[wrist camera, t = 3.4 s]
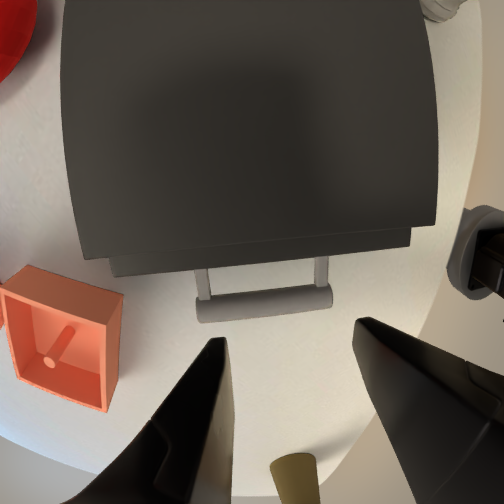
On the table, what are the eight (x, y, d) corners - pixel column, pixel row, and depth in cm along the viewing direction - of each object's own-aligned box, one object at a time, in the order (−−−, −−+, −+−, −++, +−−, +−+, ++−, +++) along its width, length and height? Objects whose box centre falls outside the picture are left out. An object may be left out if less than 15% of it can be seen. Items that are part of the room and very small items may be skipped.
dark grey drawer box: (348, 187, 20) (435, 225, 11) (144, 205, 19) (83, 260, 10) (330, -8, 15) (393, -76, 6) (131, 3, 14) (79, -69, 5)
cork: (275, 477, 33) (286, 543, 22) (264, 460, 30) (276, 535, 20) (318, 466, 33) (336, 531, 22) (312, 448, 30) (333, 522, 20)
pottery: (123, 294, 21) (75, 385, 12) (118, 380, 24) (91, 466, 15) (-37, 240, 18) (-105, 283, 9) (-25, 322, 21) (-73, 375, 12)
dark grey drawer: (344, 265, 21) (398, 326, 14) (164, 284, 20) (138, 359, 13) (331, 13, 15) (386, -39, 7) (136, 23, 14) (91, -32, 6)
